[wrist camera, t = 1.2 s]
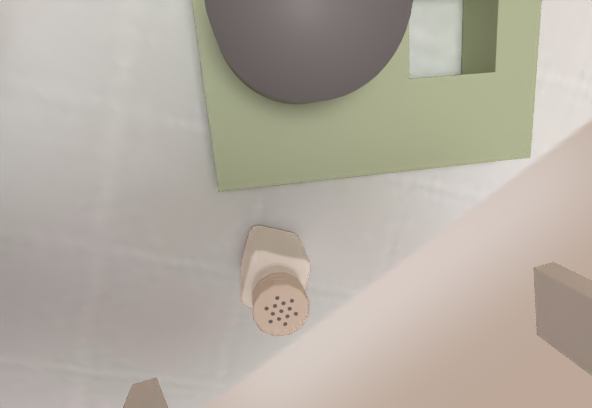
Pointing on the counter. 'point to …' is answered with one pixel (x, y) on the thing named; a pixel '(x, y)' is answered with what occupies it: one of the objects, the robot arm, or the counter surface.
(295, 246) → the pepper shaker
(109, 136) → the counter surface
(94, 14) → the counter surface
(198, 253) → the counter surface
